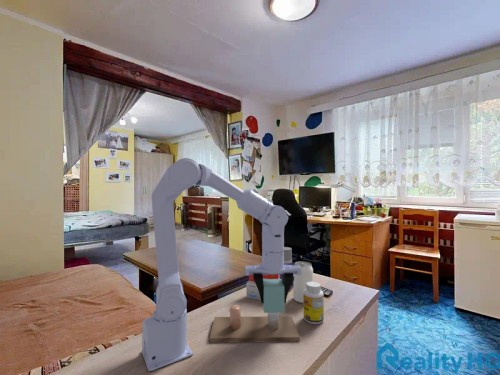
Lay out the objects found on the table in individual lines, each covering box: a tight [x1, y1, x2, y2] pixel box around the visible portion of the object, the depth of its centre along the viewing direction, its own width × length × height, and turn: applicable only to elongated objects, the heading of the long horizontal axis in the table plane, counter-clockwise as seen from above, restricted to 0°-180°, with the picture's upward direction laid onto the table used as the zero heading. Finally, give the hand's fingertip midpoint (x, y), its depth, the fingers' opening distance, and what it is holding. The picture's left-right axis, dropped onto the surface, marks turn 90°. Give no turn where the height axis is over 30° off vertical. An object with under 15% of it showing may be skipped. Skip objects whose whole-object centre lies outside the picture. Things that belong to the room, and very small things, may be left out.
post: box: [267, 313, 280, 329], centre depth 66 cm, size 3×3×5 cm
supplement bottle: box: [303, 281, 325, 325], centre depth 71 cm, size 6×6×10 cm
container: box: [279, 246, 293, 292], centre depth 93 cm, size 5×5×15 cm
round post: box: [229, 304, 242, 330], centre depth 66 cm, size 3×3×5 cm
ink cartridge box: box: [245, 274, 279, 301], centre depth 85 cm, size 2×11×10 cm, turn 67°
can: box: [292, 260, 314, 304], centre depth 84 cm, size 6×6×12 cm
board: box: [209, 315, 301, 343], centre depth 66 cm, size 22×10×1 cm, turn 91°
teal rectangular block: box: [262, 279, 285, 314], centre depth 66 cm, size 5×5×7 cm
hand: (273, 301), depth 66 cm, fingers closed on teal rectangular block, 5 cm apart
